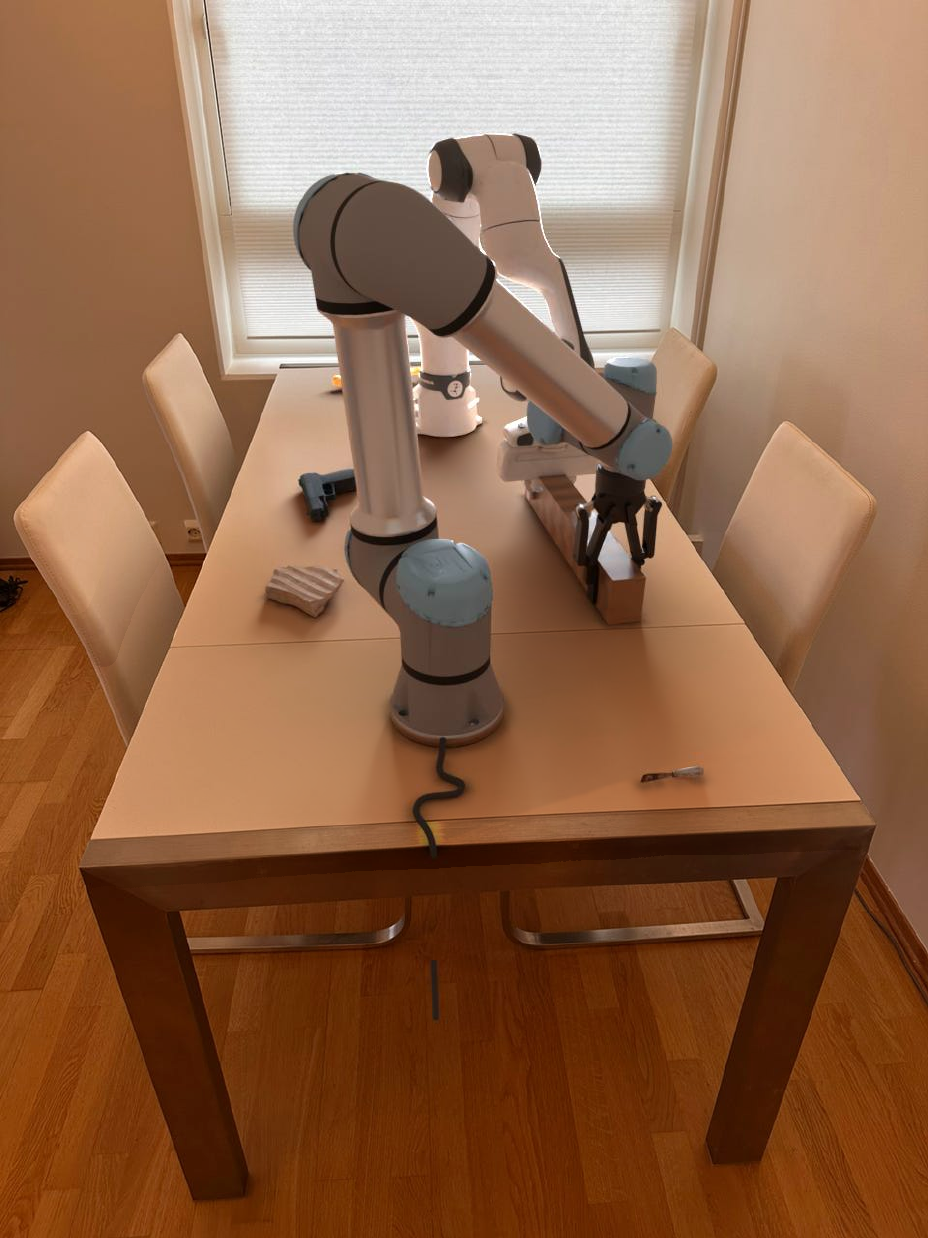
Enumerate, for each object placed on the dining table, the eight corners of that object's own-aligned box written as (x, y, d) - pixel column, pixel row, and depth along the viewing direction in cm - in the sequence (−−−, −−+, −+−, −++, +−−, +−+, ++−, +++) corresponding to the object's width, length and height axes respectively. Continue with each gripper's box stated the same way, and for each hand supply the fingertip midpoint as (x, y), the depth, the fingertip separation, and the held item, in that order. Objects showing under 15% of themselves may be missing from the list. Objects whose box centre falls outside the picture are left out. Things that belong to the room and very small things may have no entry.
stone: (354, 583, 150) (352, 570, 149) (317, 618, 141) (316, 605, 140) (288, 570, 155) (286, 557, 153) (249, 603, 145) (246, 590, 144)
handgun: (369, 516, 174) (308, 523, 171) (354, 480, 188) (297, 486, 185) (368, 501, 172) (306, 508, 169) (353, 466, 186) (295, 472, 183)
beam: (641, 621, 140) (646, 577, 136) (608, 625, 140) (612, 580, 135) (550, 493, 182) (552, 457, 178) (524, 496, 181) (525, 459, 177)
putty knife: (703, 777, 109) (705, 767, 109) (642, 788, 108) (644, 777, 107) (700, 772, 110) (702, 762, 109) (639, 782, 109) (640, 771, 108)
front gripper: (670, 450, 138) (654, 580, 150) (555, 460, 135) (548, 592, 147) (690, 468, 132) (671, 603, 144) (570, 479, 129) (562, 616, 141)
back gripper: (598, 419, 171) (593, 486, 179) (494, 427, 168) (494, 495, 175) (609, 430, 166) (603, 498, 173) (503, 439, 162) (501, 508, 170)
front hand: (609, 597), depth 146 cm, fingers closed on beam, 5 cm apart
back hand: (547, 497), depth 174 cm, fingers closed on beam, 5 cm apart
